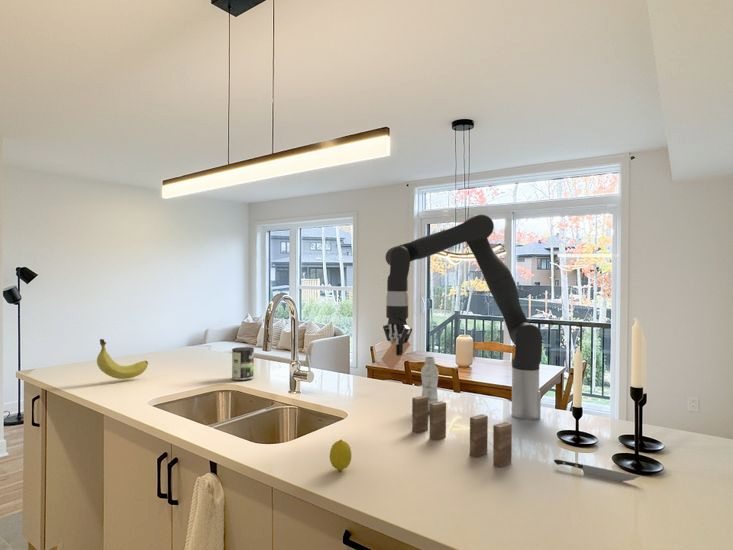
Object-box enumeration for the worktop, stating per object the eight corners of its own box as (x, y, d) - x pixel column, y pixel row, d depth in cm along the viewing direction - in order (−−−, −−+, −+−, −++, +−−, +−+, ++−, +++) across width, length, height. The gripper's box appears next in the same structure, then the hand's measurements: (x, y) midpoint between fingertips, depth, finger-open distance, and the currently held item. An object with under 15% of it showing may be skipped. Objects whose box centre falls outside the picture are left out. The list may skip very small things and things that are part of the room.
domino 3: (445, 438, 138) (446, 402, 138) (434, 441, 135) (434, 405, 135) (441, 436, 140) (441, 401, 140) (429, 439, 137) (429, 403, 137)
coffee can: (256, 375, 224) (256, 347, 224) (250, 380, 213) (250, 350, 213) (235, 375, 224) (235, 346, 224) (228, 379, 213) (229, 350, 213)
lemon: (343, 477, 111) (343, 445, 111) (325, 472, 113) (325, 440, 113) (355, 469, 115) (355, 438, 115) (338, 464, 118) (338, 434, 118)
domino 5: (511, 465, 119) (511, 423, 119) (499, 469, 116) (499, 427, 116) (505, 462, 120) (505, 421, 120) (493, 467, 118) (493, 425, 118)
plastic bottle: (438, 415, 161) (439, 359, 161) (419, 413, 163) (420, 358, 163) (439, 410, 168) (439, 356, 168) (421, 408, 169) (421, 355, 169)
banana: (145, 374, 224) (145, 334, 224) (150, 375, 220) (150, 335, 220) (94, 382, 207) (95, 338, 207) (99, 384, 203) (100, 339, 203)
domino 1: (392, 369, 152) (410, 344, 156) (384, 360, 150) (402, 335, 154) (389, 368, 153) (406, 343, 158) (380, 359, 151) (398, 334, 156)
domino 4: (487, 455, 125) (487, 416, 125) (475, 459, 122) (475, 419, 122) (481, 453, 127) (482, 414, 127) (469, 457, 124) (470, 417, 124)
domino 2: (427, 430, 145) (428, 396, 145) (416, 434, 142) (416, 399, 142) (423, 429, 146) (423, 395, 146) (412, 432, 144) (412, 397, 144)
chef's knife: (640, 488, 106) (640, 475, 106) (640, 490, 106) (640, 477, 106) (554, 469, 116) (554, 458, 116) (553, 471, 115) (553, 459, 115)
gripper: (418, 305, 151) (418, 356, 151) (393, 303, 162) (392, 351, 162) (401, 305, 146) (401, 359, 146) (376, 303, 157) (376, 353, 157)
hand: (396, 354), depth 154 cm, fingers closed on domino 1
